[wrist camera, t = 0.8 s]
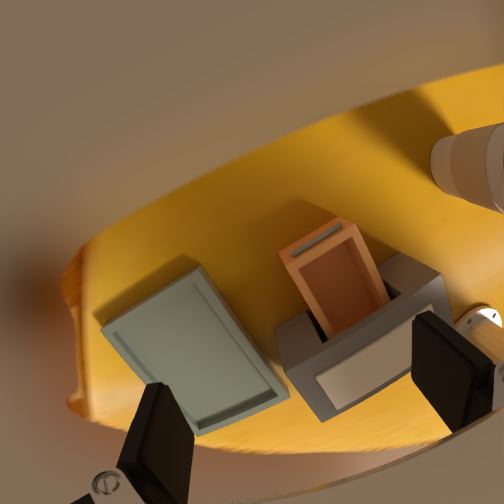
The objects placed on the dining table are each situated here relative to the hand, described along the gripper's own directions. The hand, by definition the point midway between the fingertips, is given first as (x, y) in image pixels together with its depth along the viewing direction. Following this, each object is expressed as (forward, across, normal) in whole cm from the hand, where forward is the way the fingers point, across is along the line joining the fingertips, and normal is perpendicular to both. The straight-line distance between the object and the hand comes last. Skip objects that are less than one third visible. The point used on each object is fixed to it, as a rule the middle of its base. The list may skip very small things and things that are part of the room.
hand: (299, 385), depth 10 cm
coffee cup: (+21, -24, -4) cm, 32 cm away
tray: (+21, +9, +10) cm, 25 cm away
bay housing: (+21, -8, +10) cm, 24 cm away
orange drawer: (+21, -7, +5) cm, 23 cm away
